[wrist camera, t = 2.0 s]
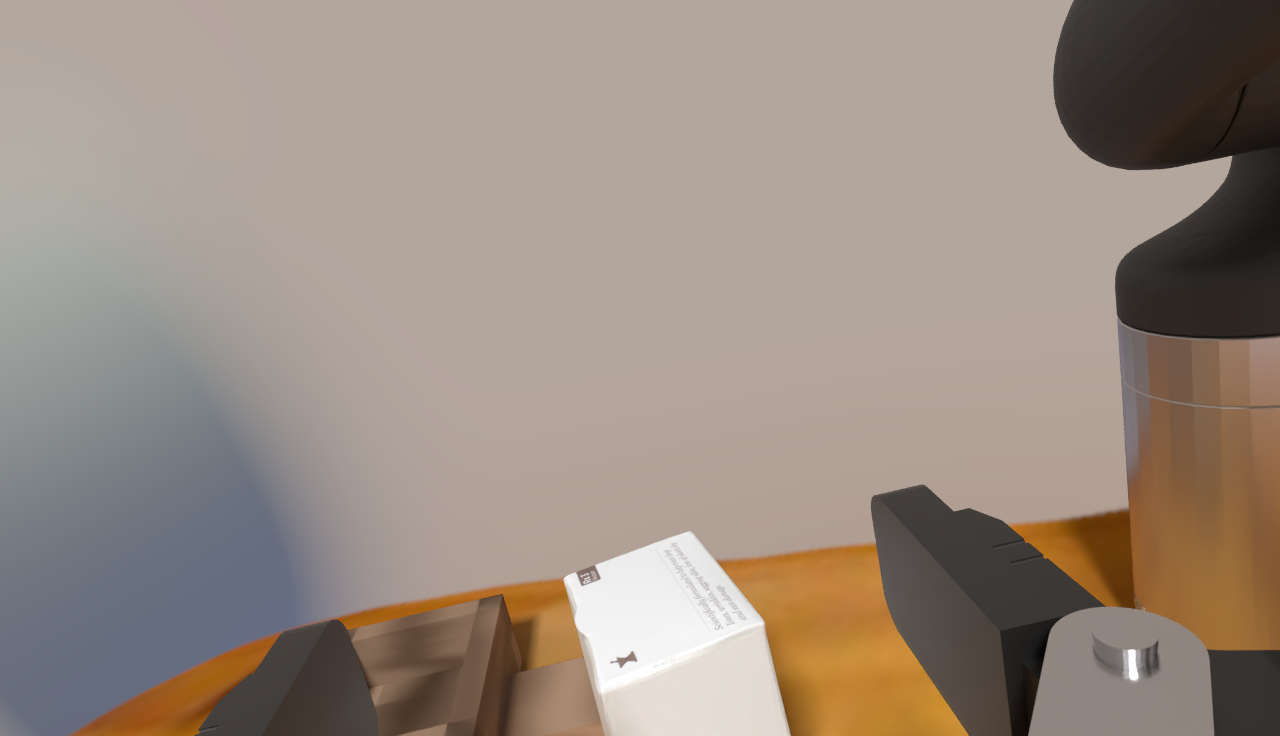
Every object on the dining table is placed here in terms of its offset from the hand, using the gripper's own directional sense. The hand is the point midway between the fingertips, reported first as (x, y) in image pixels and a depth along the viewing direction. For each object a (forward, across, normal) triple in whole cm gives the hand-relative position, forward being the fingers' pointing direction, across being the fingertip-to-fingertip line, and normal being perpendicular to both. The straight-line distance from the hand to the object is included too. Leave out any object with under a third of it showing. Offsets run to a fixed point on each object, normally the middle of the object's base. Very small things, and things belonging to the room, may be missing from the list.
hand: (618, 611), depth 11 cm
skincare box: (+14, 0, +23) cm, 27 cm away
